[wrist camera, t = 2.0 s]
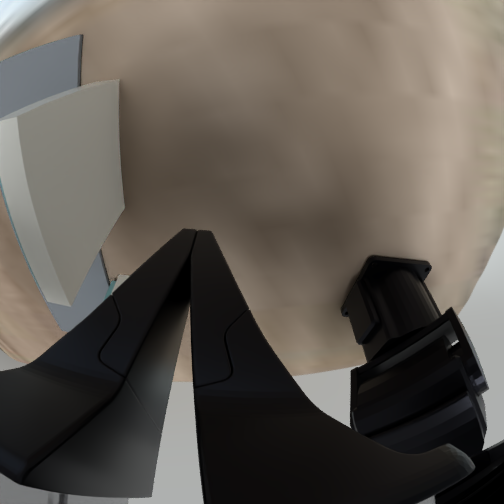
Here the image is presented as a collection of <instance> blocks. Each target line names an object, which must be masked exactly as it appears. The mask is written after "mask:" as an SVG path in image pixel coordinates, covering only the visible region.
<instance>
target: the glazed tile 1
mask: <svg viewBox="0 0 504 504" xmlns="http://www.w3.org/2000/svg"><path fill="white" fill-rule="evenodd" d="M119 82H120V79H116V80H106V81H97V82H93V83H90V84H86V85H83V86H80V87H77V88H73V89H70V90H67V91H64V92H61V93H59V94H56V95H53V96H50V97H48V98H45V99H43V100H40V101H38V102H35V103H33V104H30V105H28V106H26V107H23V108H21V109H19V110H17V111H15V112H13V113H11V114H8V115H6V116H4V117H2V118H0V185H1V189H2V193H3V197H4V200H5V204H6V207H7V210H8V213H9V216H10V219H11V222H12V225H13V228H14V231H15V234H16V237H17V239H18V242H19V244H20V247H21V249H22V252H23V254H24V257H25V259H26V261H27V264H28V266H29V268H30V271H31V273H32V275H33V277H34V279H35V281H36V283H37V285H38V287H40V288H41V291H42V292H43V294H44V296H45V298H46V300H47V302H51V303H55V304H60V305H65V306H69V307H71V306H72V304H73V302H74V299H75V297H76V295H77V293H78V291H79V289H80V287H81V285H82V283H83V281H84V279H85V277H86V275H87V273H88V271H89V269H90V267H91V265H92V263H93V261H94V260H95V258H96V256H97V254H98V252H99V250H100V249H101V247H102V245H103V243H104V242H105V240H106V238H107V236H108V235H109V233H110V231H111V230H112V228H113V226H114V225H115V223H116V221H117V220H118V218H119V216H120V215H121V213H122V212H123V210H124V209H125V204H124V195H123V185H122V173H121V159H120V139H119Z"/></svg>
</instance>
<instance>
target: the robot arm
mask: <svg viewBox="0 0 504 504" xmlns="http://www.w3.org/2000/svg"><path fill="white" fill-rule="evenodd" d="M373 263H374V264H373ZM431 269H432V266H431V265H430V263H429V262H423V261H414V260H405V259H395V258H386V257H376V256H374V257H370V258H369V259H368V260H367V262H366V264H365V266H364V268H363V270H362V272H361V274H360V276H359V278H358V280H357V281H356V283H355V285H354V287H353V288H352V290H351V292H350V294H349V296H348V298H347V299H346V301H345V304H344V305H343V307H342V309H341V313H342V316H344V317H349V318H350V322H351V325H352V328H353V332H354V335H355V338H356V342H357V343H358V344H359V345H362V346H363V350H364V353H365V357H366V360H367V363H366V364H364V365H362V366H360V367H356V368H354V369H352V370H351V401H350V426H351V428H352V429H351V428H349V427H348V426H346V425H344V424H342V423H341V422H339V421H337V420H335V419H334V418H332V417H330V416H329V415H327V414H325V413H324V412H323V411H321V410H320V409H319V408H318V407H316V406H315V405H314V404H313V403H312V402H311V401H310V400H309V398H308V397H307V396H306V395H305V393H304V392H303V391H302V390H301V388H300V387H299V386H298V384H297V383H296V381H295V380H294V379H293V377H292V376H291V375H290V373H289V372H288V370H287V369H286V368H285V366H284V365H283V364H282V362H281V361H280V359H279V358H278V357H277V355H276V354H275V352H274V351H273V349H272V348H271V346H270V345H269V343H268V342H267V340H266V339H265V337H264V335H263V334H262V332H261V330H260V328H259V326H258V325H257V323H256V321H255V319H254V317H253V315H252V313H251V311H250V310H249V307H248V305H247V303H246V301H245V299H244V297H243V295H242V293H241V291H240V289H239V287H238V285H237V283H236V281H235V279H234V277H233V275H232V273H231V270H230V268H229V266H228V264H227V262H226V260H225V258H224V256H223V254H222V252H221V250H220V248H219V245H218V243H217V241H216V239H215V237H214V235H213V233H212V231H207V230H198V231H197V230H195V229H186V228H184V229H182V230H181V231H180V232H179V233H177V234H176V235H175V236H174V237H173V238H172V239H170V240H169V241H168V242H167V243H166V244H165V245H164V246H162V247H161V248H160V249H159V250H158V251H157V252H156V253H155V254H153V255H152V256H151V257H150V258H149V259H148V260H147V261H146V262H145V263H143V264H142V265H141V266H140V267H139V268H138V269H137V270H136V271H135V272H134V273H133V274H131V275H130V276H129V277H128V278H127V279H126V280H125V281H124V282H123V283H122V284H121V285H120V286H119V287H118V288H117V289H116V290H115V291H113V292H112V295H109V296H108V297H107V298H106V299H105V300H104V301H103V302H102V303H101V304H100V305H99V306H98V307H97V308H96V309H94V310H93V311H92V312H91V313H90V314H89V315H88V316H87V317H86V318H85V319H83V320H82V321H81V322H80V323H79V324H78V325H76V326H75V327H74V328H73V329H72V330H70V331H69V332H68V333H67V334H66V335H64V336H63V337H62V338H61V339H60V340H58V341H57V342H56V343H55V344H54V345H53V346H51V347H50V348H49V349H48V350H47V351H46V352H44V353H43V354H42V355H41V356H40V357H38V358H37V359H36V360H34V361H33V362H31V363H29V364H27V365H25V366H22V367H20V368H16V369H11V370H5V371H0V504H128V498H145V497H152V490H153V483H154V477H155V470H156V464H157V458H158V452H159V447H160V441H161V436H162V435H161V433H162V430H163V424H164V419H165V414H166V408H167V404H168V399H169V394H170V390H171V385H172V380H173V376H174V371H175V366H176V362H177V358H178V353H179V349H180V345H181V340H182V336H183V332H184V328H185V324H186V320H187V316H188V312H189V307H190V322H191V353H192V374H193V389H194V405H195V419H196V433H197V444H198V457H199V467H200V476H201V485H202V493H203V501H204V504H504V440H502V441H500V442H499V443H497V444H495V445H493V446H491V447H489V448H487V449H485V450H483V451H482V449H483V445H484V438H485V434H486V430H487V424H486V413H485V404H484V400H483V398H482V395H481V394H482V393H484V392H485V391H487V390H488V389H489V387H488V384H487V381H486V378H485V375H484V372H483V369H482V367H481V364H480V361H479V359H478V356H477V353H476V351H475V348H474V346H473V344H472V342H471V340H470V338H469V336H468V334H467V332H466V330H465V328H464V326H463V324H462V322H461V321H460V319H459V318H458V316H457V314H456V313H455V311H454V310H453V308H452V307H450V308H449V309H448V310H446V311H445V312H446V313H444V314H443V315H441V313H440V311H439V309H438V307H437V305H436V303H435V301H434V299H433V297H432V295H431V294H430V292H429V290H428V288H427V286H426V285H425V283H424V280H425V279H426V277H427V275H428V274H429V272H430V271H431ZM456 340H458V341H459V342H458V343H456V344H455V345H453V346H452V345H451V344H452V343H453V342H455V341H456Z"/></svg>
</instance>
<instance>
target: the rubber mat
mask: <svg viewBox="0 0 504 504" xmlns="http://www.w3.org/2000/svg"><path fill="white" fill-rule="evenodd" d="M82 38H83V35H76V36H72V37H68V38H65V39H61V40H58V41H54V42H51V43H48V44H45V45H42V46H39V47H36V48H33V49H30V50H27V51H25V52H22V53H20V54H17V55H15V56H12V57H10V58H8V59H5V60H3V61H1V62H0V118H2V117H4V116H6V115H8V114H11V113H13V112H15V111H17V110H19V109H21V108H23V107H26V106H28V105H30V104H33V103H35V102H38V101H40V100H43V99H45V98H48V97H50V96H53V95H56V94H59V93H61V92H64V91H67V90H70V89H73V88H77V87H80V69H81V50H82ZM0 188H1V185H0ZM1 192H2V189H1ZM2 195H3V193H2ZM3 199H4V197H3ZM4 202H5V200H4ZM5 206H6V204H5ZM6 209H7V207H6ZM7 212H8V210H7ZM8 215H9V213H8ZM9 218H10V216H9ZM10 221H11V219H10ZM11 224H12V222H11ZM12 227H13V225H12ZM13 230H14V228H13ZM14 233H15V231H14ZM15 235H16V234H15ZM16 238H17V237H16ZM17 241H18V239H17ZM18 243H19V242H18ZM19 246H20V244H19ZM20 248H21V247H20ZM21 251H22V249H21ZM22 253H23V252H22ZM23 256H24V254H23ZM24 258H25V257H24ZM25 260H26V259H25ZM26 263H27V261H26ZM27 265H28V264H27ZM28 267H29V266H28ZM29 270H30V268H29ZM30 272H31V271H30ZM31 274H32V273H31ZM32 276H33V275H32ZM33 278H34V277H33ZM34 280H35V279H34ZM35 282H36V281H35ZM36 284H37V283H36ZM37 286H38V285H37ZM109 286H110V283H109V280H108V276H107V273H106V269H105V265H104V262H103V258H102V254H101V250H99V252H98V254H97V256H96V258H95V260H94V261H93V263H92V265H91V267H90V269H89V271H88V273H87V275H86V277H85V279H84V281H83V283H82V285H81V287H80V289H79V291H78V293H77V295H76V297H75V299H74V302H73V304H72V306H71V307H69V306H65V305H60V304H55V303H51V302H47V300H46V298H45V296H44V294H43V292H42V291H41V288H40V287H38V289H39V290H40V292H41V294H42V296H43V298H44V300H45V302H46V304H47V306H48V308H49V309H50V311H51V313H52V315H53V317H54V318H55V320H56V322H57V323H58V325H59V327H60V328H61V330H62V331H66V332H69V331H70V330H72V329H73V328H74V327H75V326H76V325H78V324H79V323H80V322H81V321H82V320H83V319H85V318H86V317H87V316H88V315H89V314H90V313H91V312H92V311H93V310H94V309H96V308H97V307H98V306H99V305H100V304H101V303H102V302H103V301H104V298H105V296H106V293H107V291H108V289H109Z"/></svg>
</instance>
